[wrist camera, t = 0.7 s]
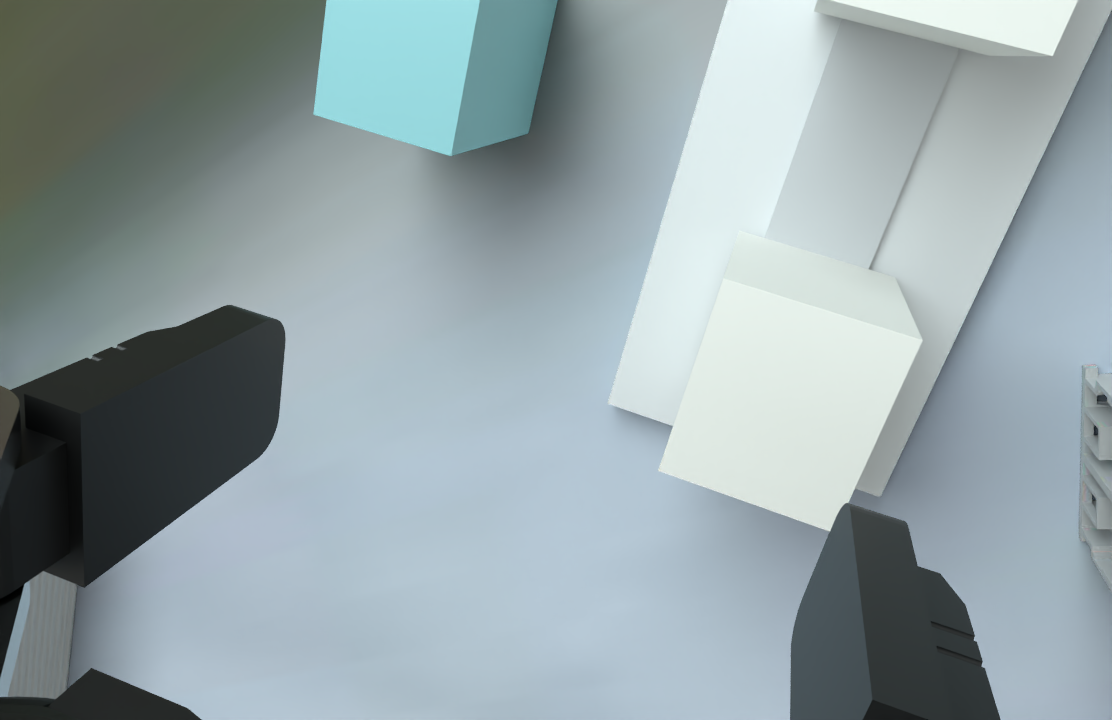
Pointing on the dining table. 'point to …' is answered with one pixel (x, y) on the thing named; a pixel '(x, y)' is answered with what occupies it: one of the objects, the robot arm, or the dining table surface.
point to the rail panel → (838, 231)
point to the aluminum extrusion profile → (45, 639)
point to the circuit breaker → (1096, 469)
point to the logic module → (434, 69)
